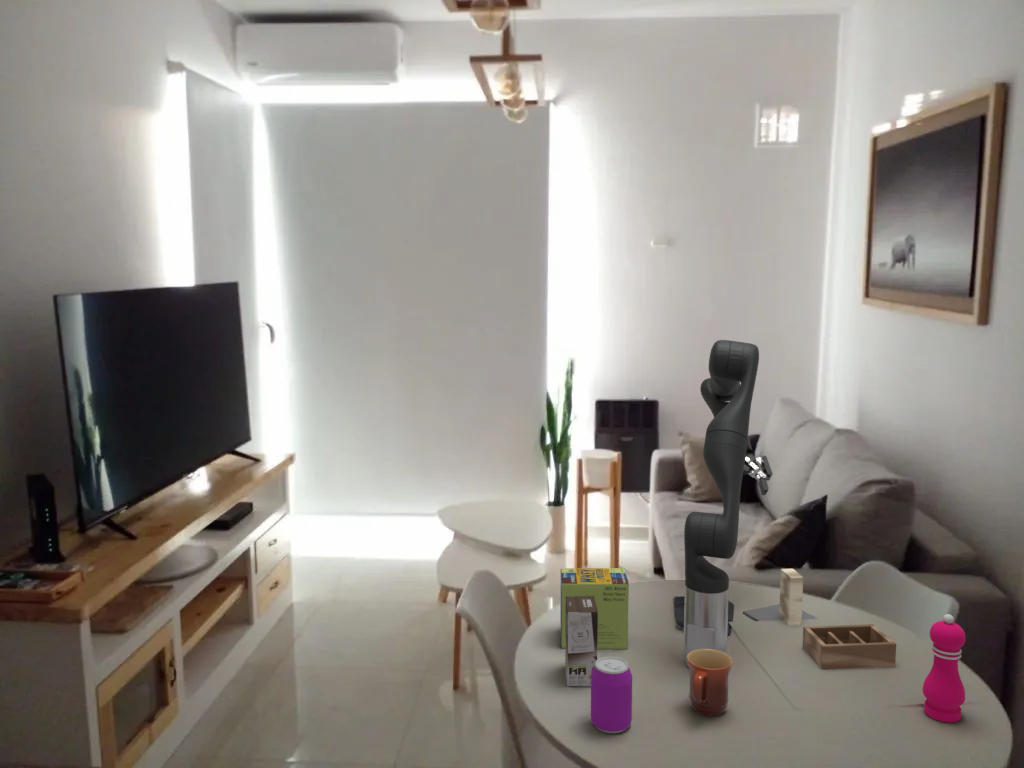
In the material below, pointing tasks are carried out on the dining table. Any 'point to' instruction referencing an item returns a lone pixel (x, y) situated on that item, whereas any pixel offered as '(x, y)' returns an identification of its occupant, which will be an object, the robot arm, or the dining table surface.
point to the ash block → (791, 596)
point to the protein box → (600, 602)
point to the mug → (709, 681)
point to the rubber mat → (770, 614)
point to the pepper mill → (945, 672)
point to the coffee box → (580, 639)
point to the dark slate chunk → (679, 612)
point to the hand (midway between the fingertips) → (747, 493)
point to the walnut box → (849, 646)
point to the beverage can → (611, 695)
